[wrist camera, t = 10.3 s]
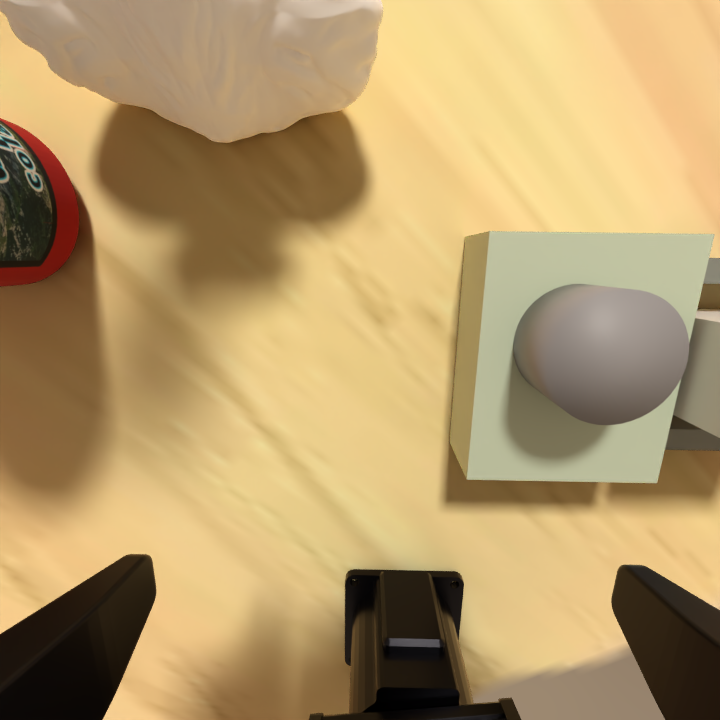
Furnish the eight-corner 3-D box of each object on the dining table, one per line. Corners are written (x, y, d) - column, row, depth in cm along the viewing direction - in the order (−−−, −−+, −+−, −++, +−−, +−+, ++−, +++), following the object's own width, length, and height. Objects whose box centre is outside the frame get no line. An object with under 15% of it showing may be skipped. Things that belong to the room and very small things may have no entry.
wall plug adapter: (725, 446, 20) (887, 531, 14) (449, 442, 20) (486, 523, 14) (782, 240, 17) (1012, 230, 11) (465, 236, 17) (520, 224, 11)
